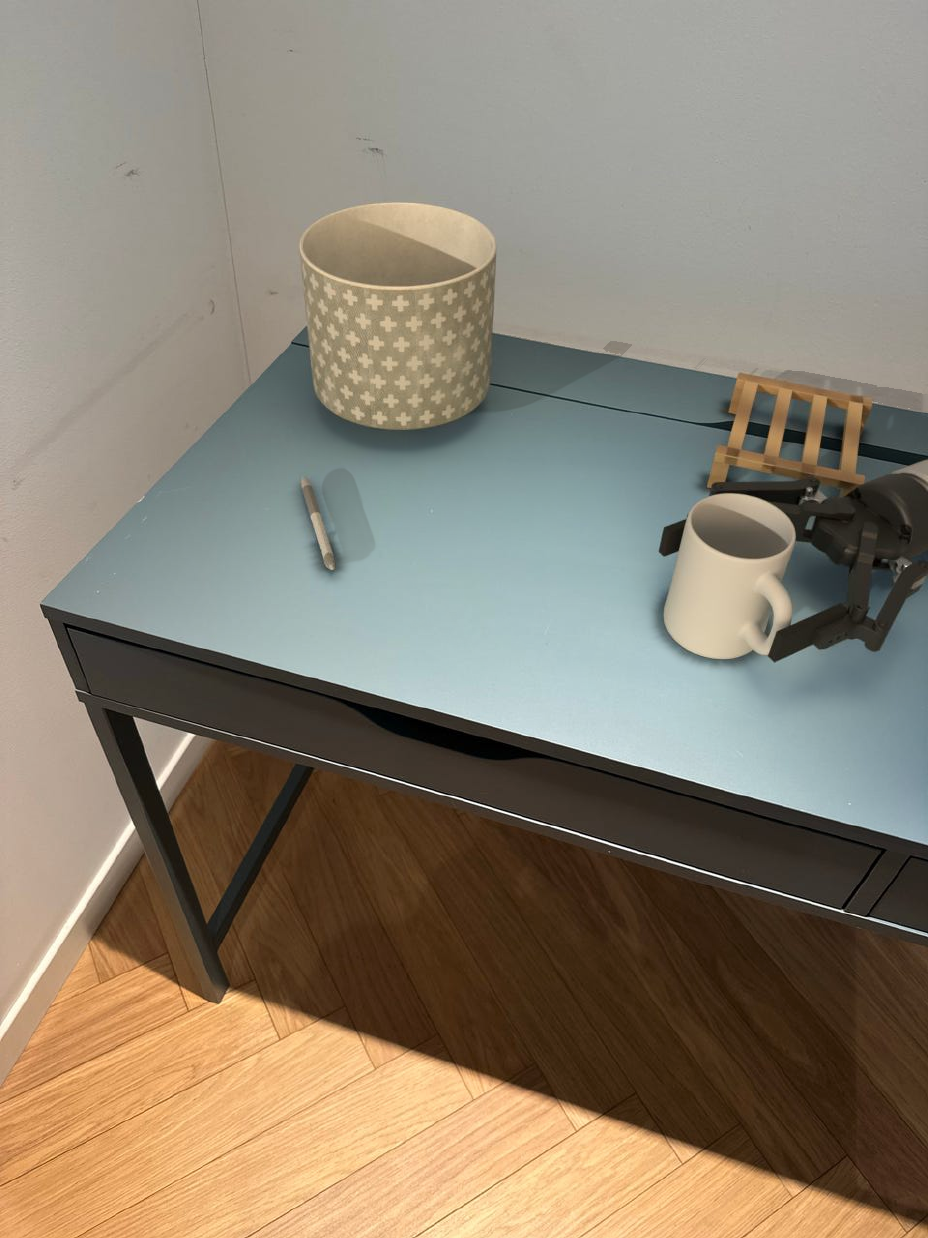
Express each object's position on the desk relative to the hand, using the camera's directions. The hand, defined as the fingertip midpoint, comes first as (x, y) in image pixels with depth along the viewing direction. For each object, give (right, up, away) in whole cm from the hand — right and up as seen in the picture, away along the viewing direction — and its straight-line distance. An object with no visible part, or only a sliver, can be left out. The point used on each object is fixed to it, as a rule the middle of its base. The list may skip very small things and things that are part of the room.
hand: (716, 592), depth 76 cm
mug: (+2, -4, +6) cm, 7 cm away
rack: (+14, +15, +24) cm, 31 cm away
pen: (-34, +6, +14) cm, 37 cm away
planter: (-27, +21, +30) cm, 45 cm away
